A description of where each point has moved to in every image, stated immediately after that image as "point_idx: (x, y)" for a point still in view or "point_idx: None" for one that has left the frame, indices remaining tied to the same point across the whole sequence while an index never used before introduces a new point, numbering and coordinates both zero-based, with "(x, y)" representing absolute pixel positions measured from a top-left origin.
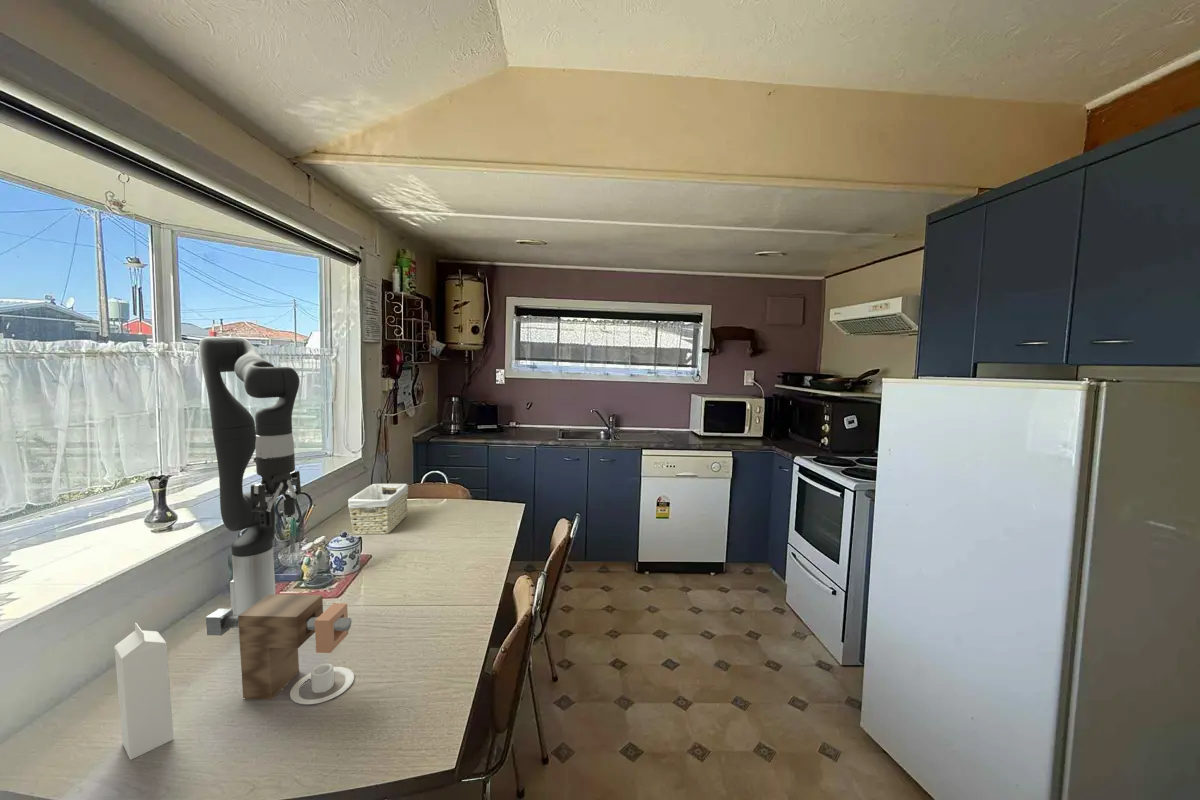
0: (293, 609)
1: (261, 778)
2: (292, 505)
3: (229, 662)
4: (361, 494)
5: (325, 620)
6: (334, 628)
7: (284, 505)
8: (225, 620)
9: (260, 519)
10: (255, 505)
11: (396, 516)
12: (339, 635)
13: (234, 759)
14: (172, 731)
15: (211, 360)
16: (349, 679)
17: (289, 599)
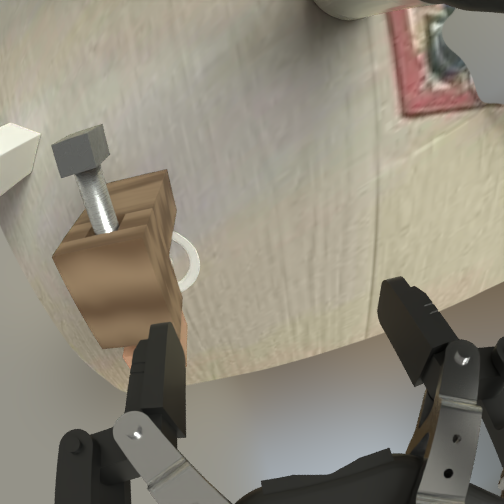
0: (115, 331)
1: (47, 297)
2: (400, 358)
3: (171, 75)
4: None
5: (130, 368)
6: None
7: (411, 322)
8: (75, 176)
9: (132, 378)
10: (89, 471)
11: None
12: None
13: (45, 260)
14: (26, 175)
15: None
16: (179, 287)
17: (140, 299)
